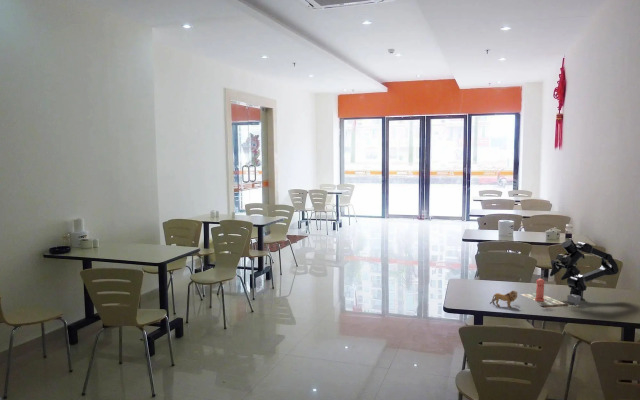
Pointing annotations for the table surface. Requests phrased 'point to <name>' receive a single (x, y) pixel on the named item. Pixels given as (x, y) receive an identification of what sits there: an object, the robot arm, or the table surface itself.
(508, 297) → the lion figurine
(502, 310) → the table surface
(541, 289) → the pawn
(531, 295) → the board
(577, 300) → the die
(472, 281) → the table surface
